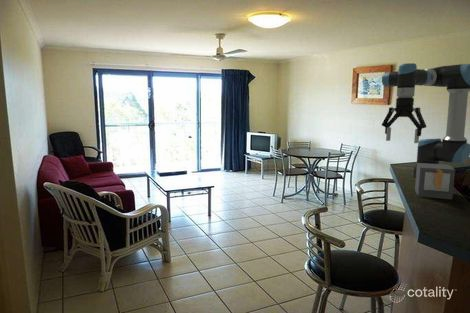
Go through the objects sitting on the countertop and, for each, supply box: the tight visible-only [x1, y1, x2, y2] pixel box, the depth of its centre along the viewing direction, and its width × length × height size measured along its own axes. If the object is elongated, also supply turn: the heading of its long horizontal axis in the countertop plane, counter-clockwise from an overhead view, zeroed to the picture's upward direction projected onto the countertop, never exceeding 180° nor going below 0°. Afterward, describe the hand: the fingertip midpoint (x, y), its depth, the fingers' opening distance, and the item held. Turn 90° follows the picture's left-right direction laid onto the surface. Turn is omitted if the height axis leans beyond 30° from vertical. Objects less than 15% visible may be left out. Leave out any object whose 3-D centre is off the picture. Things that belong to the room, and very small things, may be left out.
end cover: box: [424, 169, 450, 192], centre depth 158 cm, size 19×10×10 cm, turn 158°
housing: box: [414, 162, 456, 200], centre depth 163 cm, size 14×14×14 cm
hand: (401, 141), depth 163 cm, fingers open, 13 cm apart
